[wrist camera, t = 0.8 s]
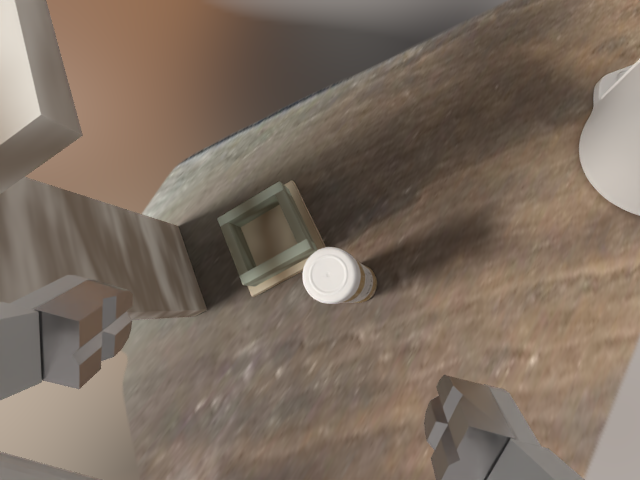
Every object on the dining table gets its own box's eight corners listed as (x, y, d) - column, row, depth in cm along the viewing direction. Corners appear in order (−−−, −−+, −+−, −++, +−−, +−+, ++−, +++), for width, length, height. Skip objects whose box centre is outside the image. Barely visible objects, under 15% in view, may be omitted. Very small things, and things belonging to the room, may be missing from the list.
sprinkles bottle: (349, 258, 40) (316, 236, 27) (384, 275, 38) (366, 260, 26) (332, 292, 40) (291, 287, 27) (367, 311, 38) (340, 314, 25)
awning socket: (284, 161, 45) (15, -121, 15) (330, 256, 40) (82, 124, 11) (167, 232, 48) (-242, 117, 18) (198, 327, 44) (-267, 375, 14)
